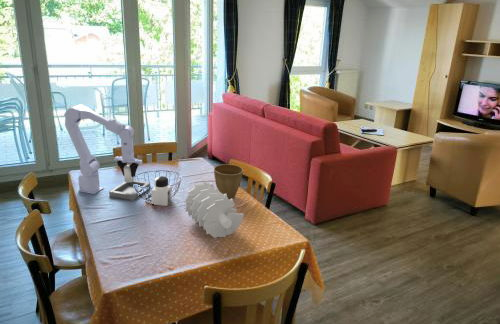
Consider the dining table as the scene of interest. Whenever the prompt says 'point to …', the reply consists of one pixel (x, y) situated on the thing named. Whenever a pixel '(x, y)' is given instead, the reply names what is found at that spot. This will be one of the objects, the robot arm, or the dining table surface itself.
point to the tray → (127, 190)
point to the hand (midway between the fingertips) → (129, 175)
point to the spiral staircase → (212, 210)
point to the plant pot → (228, 179)
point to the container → (161, 191)
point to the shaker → (128, 174)
